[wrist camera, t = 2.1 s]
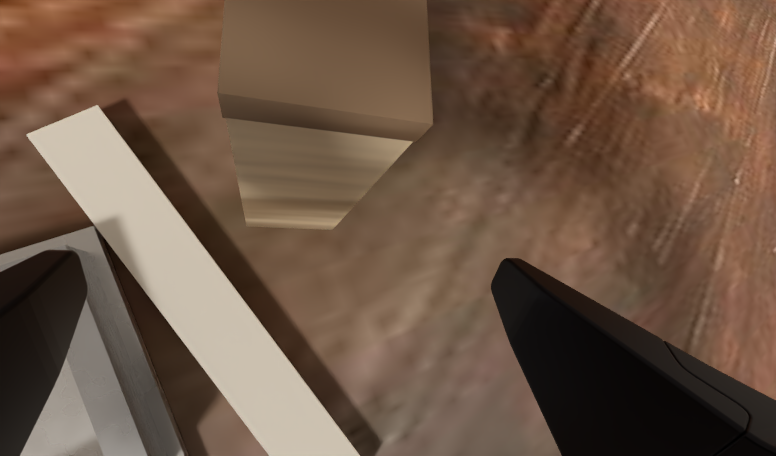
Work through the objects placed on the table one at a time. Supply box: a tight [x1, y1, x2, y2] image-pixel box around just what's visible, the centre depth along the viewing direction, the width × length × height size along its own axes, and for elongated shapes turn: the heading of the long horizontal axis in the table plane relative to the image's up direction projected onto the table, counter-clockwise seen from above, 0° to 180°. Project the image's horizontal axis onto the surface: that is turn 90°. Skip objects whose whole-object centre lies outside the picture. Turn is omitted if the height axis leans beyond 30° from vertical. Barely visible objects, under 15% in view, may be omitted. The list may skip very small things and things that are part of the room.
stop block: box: [217, 0, 433, 230], centre depth 14 cm, size 5×5×13 cm
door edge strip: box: [26, 105, 360, 456], centre depth 17 cm, size 22×3×1 cm, turn 38°
